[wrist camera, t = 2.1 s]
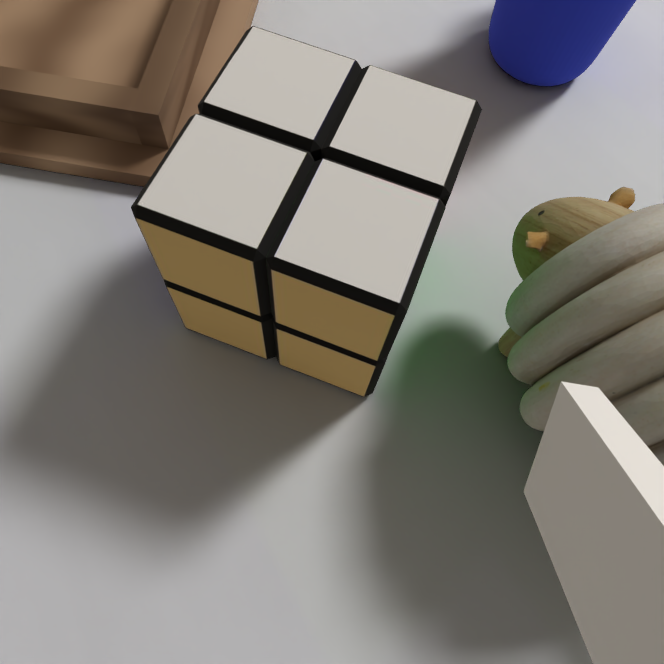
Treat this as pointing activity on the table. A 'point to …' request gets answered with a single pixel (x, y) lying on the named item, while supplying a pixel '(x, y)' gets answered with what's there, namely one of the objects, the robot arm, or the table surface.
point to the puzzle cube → (304, 205)
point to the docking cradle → (108, 79)
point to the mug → (552, 36)
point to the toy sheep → (590, 308)
